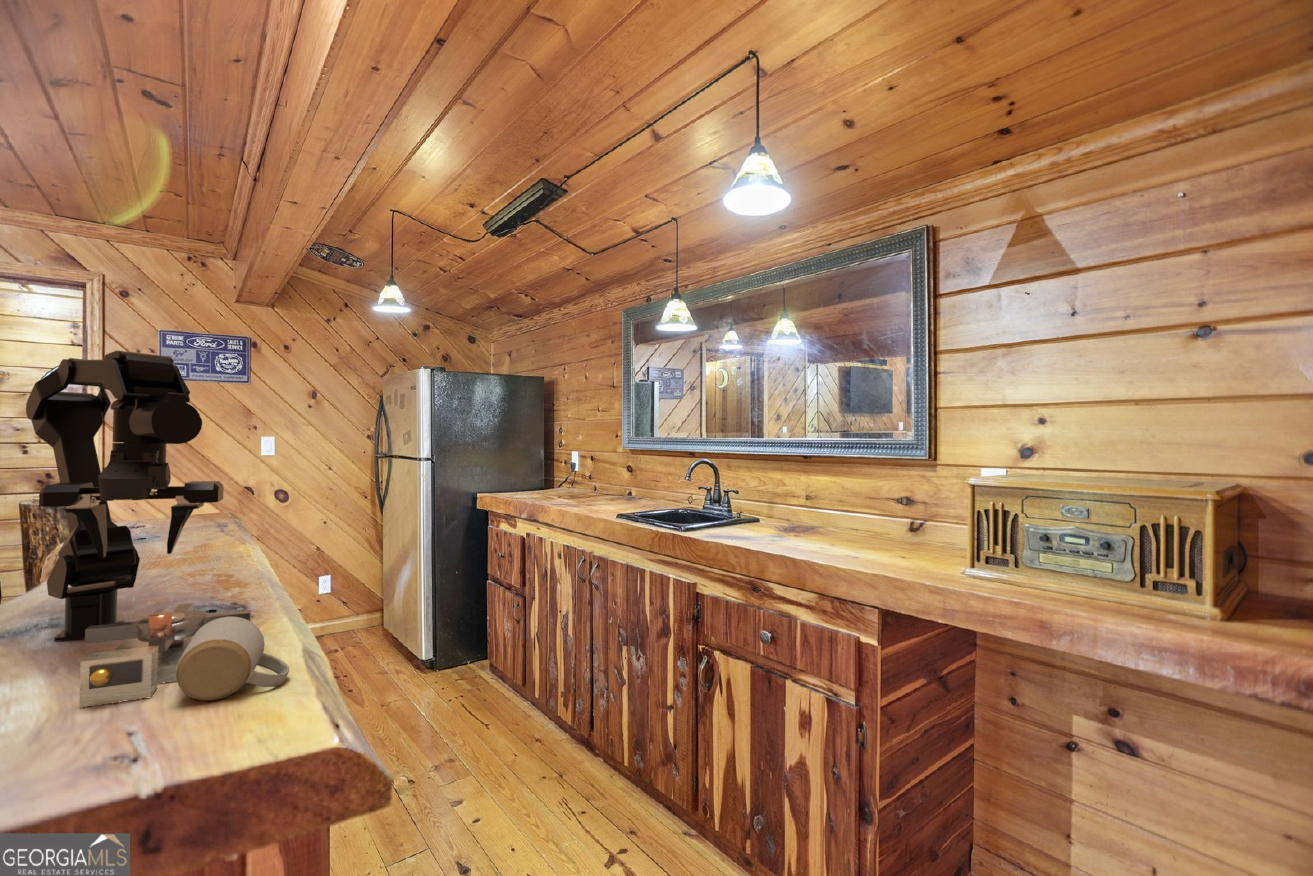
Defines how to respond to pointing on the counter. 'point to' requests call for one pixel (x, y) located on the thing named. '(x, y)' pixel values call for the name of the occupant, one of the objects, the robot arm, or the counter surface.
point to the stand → (128, 671)
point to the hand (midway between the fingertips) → (136, 555)
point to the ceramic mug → (226, 660)
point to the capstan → (159, 627)
